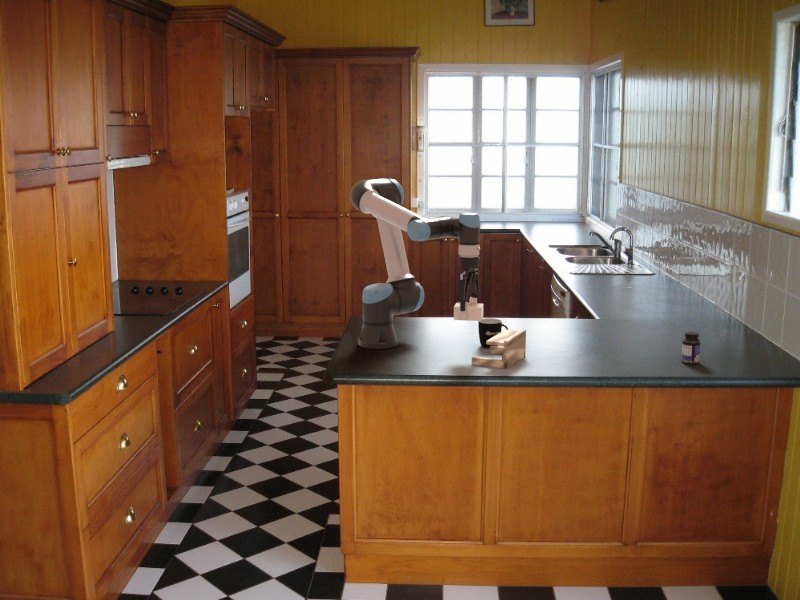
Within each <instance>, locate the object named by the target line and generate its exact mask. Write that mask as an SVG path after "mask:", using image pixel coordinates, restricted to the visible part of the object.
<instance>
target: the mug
mask: <svg viewBox="0 0 800 600" xmlns="http://www.w3.org/2000/svg"><path fill="white" fill-rule="evenodd" d="M477 322H478V324H477V325H478V327H477V329H478V338H479V344H480V346H481V347H482V348H483V349H484V348H485V349H490V346H491V345H489V344H486V341H487V340H489V339H490V338H492V337H494V336H496V335H497V334H499V333H501V332H502V328H503V327H504V328H505V330H509V328H508V326H507V325H506V324H504V323H503V322H502V319H499V318H491V317H489V318H487V317H486V318H482V321H477ZM492 346H497V345H492Z"/></svg>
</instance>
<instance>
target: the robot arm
mask: <svg viewBox="0 0 800 600" xmlns="http://www.w3.org/2000/svg"><path fill="white" fill-rule="evenodd" d="M404 193H405V192H404V188H403V187H402V184H400V183H399V182H398V181H397V180H396V179H393V178H371V179H362V180H360V181H357V182H356V183H354V185H353V186H352V188H351V190H350V193H349V198H350V203H351V204H352V206H353V207H354V208H355V209H356V210H358V211H359V212H361V213H363V214H366V215H369V214H371V216H373V217H374V218H376V221H377V224H378V231H379V235H380V241H381V245H382V250H383V251H382V252H383V255H384V261H385V265H386V270H387V275H388V278H387V280H386V281H385V282H379V283H373V284H369V285H367V286H365V287H364V288H363V290H362V297H361V301H362V305H361V306H362V327H361V331H360V332H359V337H358V346H359V347H361V348H364V349H368V350H369V349H371V350H386V349H391V348H394V347H396V346H398V338H397V333H396V331H395V328H394V323H393V321H394V320H393V319H394V316H398V315H399V316H400V315H404V314H410V313H413V312H416V311H418V310H419V309H420V308H421V307H422V305H423V304H424V301H425V300H424V299H425V291H424V288H423V286H422V285H421V283H419V282H418V281H416V277H415V276H414V275H413V274H411V272H410V267H409V262H408V258H407V253H406V248H405V247H406V246H405V242H404V237H403V233H402V231H403V232H406V233H407V235H408V237H409V238H410V240H411V241H414V242H425V241H430V240H439V239H444V238H445V239H446V238H452V239H453V238H454V239H458V255H459V256H458V267H460V268H462V270H461V273H458V282H457V284H458V285H457V297H456V303H460V320H459V321H467V314H468V303H478V298H480V297H481V295H480V294H481V292H480V277H479V276H480V275H479V274H480V269H479V268H478V267H480V256H479V255H480V250H481V247H480V245H481V244H480V243H481V242H480V237H481V235H480V234H481V232H480V231H481V219H480V218H481V217H480V215H479V214H480V213H479V214H478V213H477V212H461V213H459V214H458V217H457V216H449V215H439V216H437V217H433V218H426V217H424V216H422V215H421V216H420V215H419V214H417V213H416V212H413V211H411V210H409V209H407V208H405V207H403V206H402V205H403V202H404V199H405V194H404ZM468 295H470V297H469V302H468V301H467V300H468Z"/></svg>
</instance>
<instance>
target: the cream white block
mask: <svg viewBox="0 0 800 600" xmlns="http://www.w3.org/2000/svg"><path fill="white" fill-rule="evenodd" d="M482 319H484V303H478V302H477V303H469V302H468V314H467V320H466V321H472V322H473V321H474V322H475V321H476V322H478V321H482ZM453 321H461V320H460V302H456V303H455V304H454V306H453Z"/></svg>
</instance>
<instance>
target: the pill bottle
mask: <svg viewBox="0 0 800 600" xmlns="http://www.w3.org/2000/svg"><path fill="white" fill-rule="evenodd" d="M684 337H685V338H683V339H682V341H681V342H682V345H681V362H682V364H684V365H685V364H686V365H698V364H699V363H700V355H701V351H700V350H701V340H700V339H699V337H700V333H699V332H697V331H692V330H691V331H690V330H689V331H685V332H684Z"/></svg>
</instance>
